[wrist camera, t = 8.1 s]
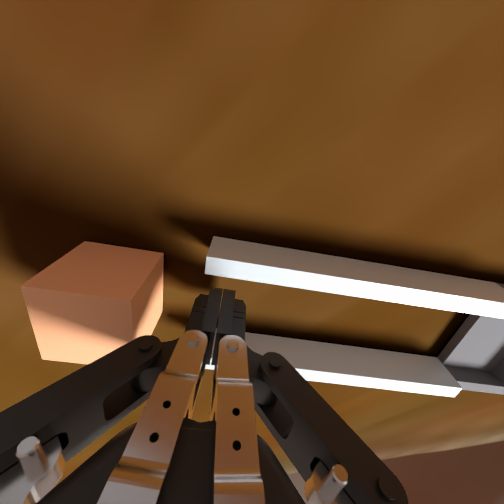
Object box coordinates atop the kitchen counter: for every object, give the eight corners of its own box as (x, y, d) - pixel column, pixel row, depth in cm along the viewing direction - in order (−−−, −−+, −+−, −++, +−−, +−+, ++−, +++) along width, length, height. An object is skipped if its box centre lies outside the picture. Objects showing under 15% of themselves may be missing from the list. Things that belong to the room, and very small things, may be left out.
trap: (561, 293, 16) (596, 311, 14) (487, 373, 20) (508, 395, 18) (494, 282, 16) (522, 299, 14) (430, 366, 19) (447, 387, 18)
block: (163, 253, 15) (131, 300, 11) (162, 310, 17) (134, 369, 13) (85, 240, 14) (20, 285, 10) (93, 301, 16) (42, 359, 12)
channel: (494, 282, 16) (534, 308, 13) (430, 366, 19) (454, 397, 17) (213, 235, 14) (206, 256, 12) (200, 336, 18) (193, 367, 15)
